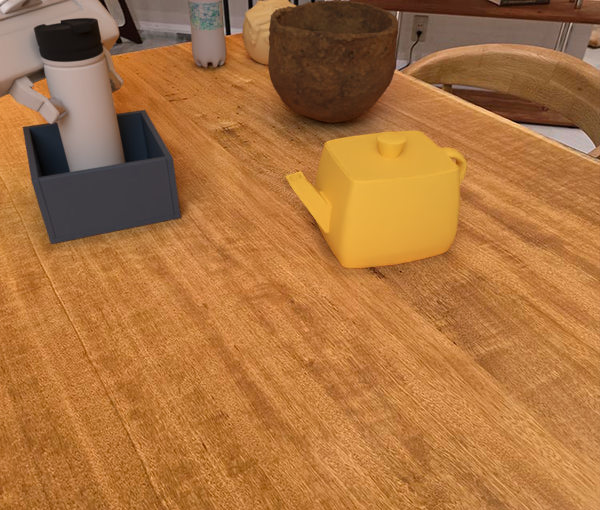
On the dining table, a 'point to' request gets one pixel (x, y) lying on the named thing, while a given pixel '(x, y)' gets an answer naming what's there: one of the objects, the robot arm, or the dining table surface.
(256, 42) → the sculpture
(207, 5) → the bottle
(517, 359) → the dining table surface
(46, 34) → the travel mug
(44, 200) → the box
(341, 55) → the bowl
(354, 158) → the teapot
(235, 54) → the dining table surface
